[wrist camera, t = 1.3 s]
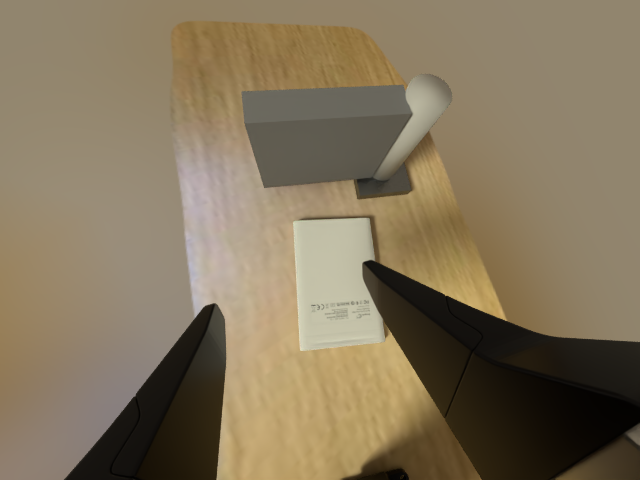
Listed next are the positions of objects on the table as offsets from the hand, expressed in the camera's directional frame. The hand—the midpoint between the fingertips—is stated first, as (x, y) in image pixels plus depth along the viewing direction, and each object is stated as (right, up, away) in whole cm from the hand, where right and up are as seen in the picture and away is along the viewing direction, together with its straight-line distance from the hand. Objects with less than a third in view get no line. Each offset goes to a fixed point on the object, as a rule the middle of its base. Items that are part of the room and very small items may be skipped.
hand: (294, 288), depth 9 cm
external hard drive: (+3, -2, +15) cm, 15 cm away
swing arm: (+2, +9, +15) cm, 18 cm away
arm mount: (+8, +10, +17) cm, 21 cm away
